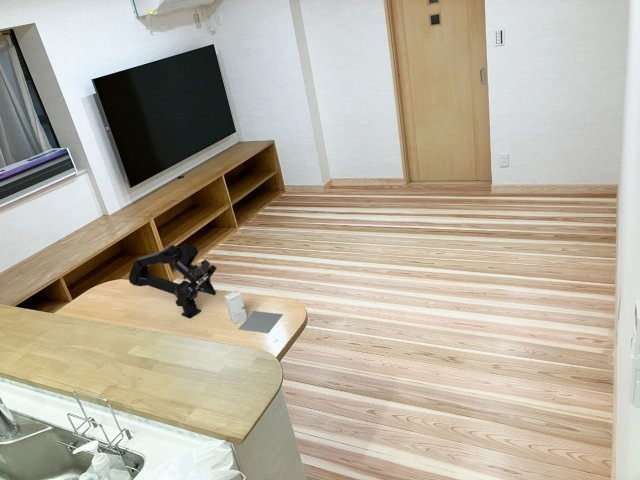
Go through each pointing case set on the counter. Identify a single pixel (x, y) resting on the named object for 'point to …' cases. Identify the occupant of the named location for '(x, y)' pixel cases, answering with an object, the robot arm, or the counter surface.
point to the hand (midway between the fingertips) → (215, 294)
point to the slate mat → (260, 322)
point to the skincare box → (236, 307)
